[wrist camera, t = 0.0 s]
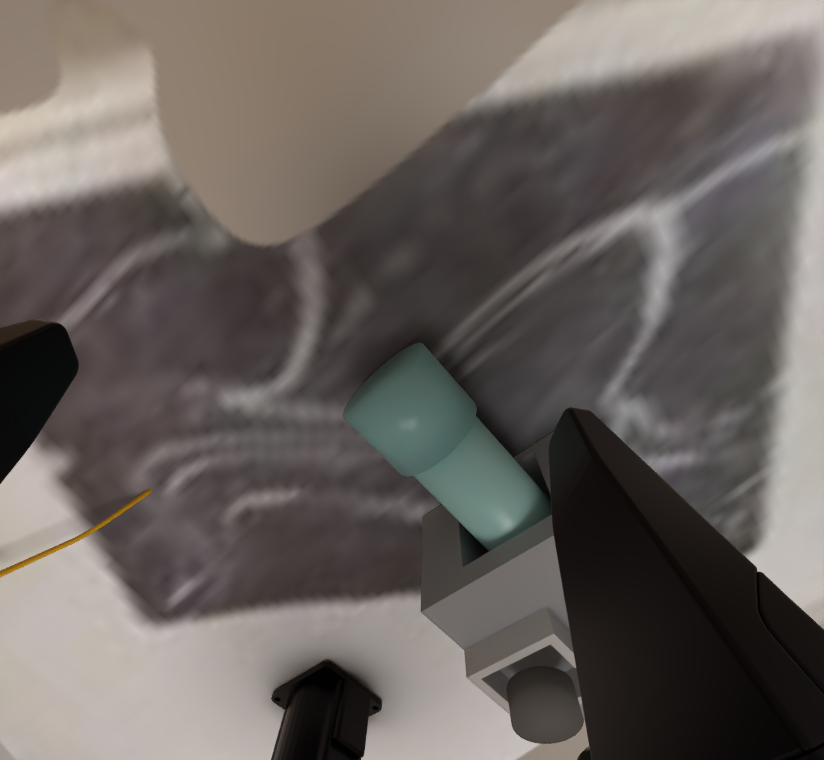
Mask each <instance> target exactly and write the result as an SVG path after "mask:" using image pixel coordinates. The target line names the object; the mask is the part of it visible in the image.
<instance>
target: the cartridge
mask: <svg viewBox="0 0 824 760" xmlns="http://www.w3.org/2000/svg"><path fill="white" fill-rule="evenodd" d="M476 412H477V407H476V404H475V402H474V401H473V400H472V399H471V398H470V397H469V395H468V394H467V393H466V392H465V391H464V390H463V389H462V388H461V386H460V385H459V384H458V383H457V382H456V381H455V380H454V378H453V377H452V376H451V375H450V374H449V373H448V372H447V370H446V369H445V368H444V367H443V366H442V365H441V364H440V362H439V361H438V360H437V359H436V358H435V357H434V356H433V355H432V353H431V352H430V351H429V350H428V349H427V348H426V347H425V345H424V344H423V343H415V344H413V345H410V346H408V347H407V348H405V349H403V350H401V351H400V352H398V353H397V354H396V355H394V356H393V357H392V358H390V359H389V360H388V361H386V362H385V363H384V364H383V365H382V366H381V367H379V368H378V369H377V370H376V371H375V372H374V373H373V374H372V375H371V376H370V377H369V378H368V379H367V380H366V381H365V382H364V383H363V384H362V385H361V386H360V388H359V389H358V390H357V391H356V392H355V394H354V395H353V396H352V398H351V399H350V400H349V402H348V403H347V405H346V407H345V409H344V412H343V418H344V419H345V420H346V421H347V422H348V423H349V424H350V425H351V426H352V427H353V428H354V429H355V430H356V431H357V432H358V433H359V434H360V435H361V436H362V437H363V438H364V439H365V440H366V441H367V442H368V443H369V444H370V445H371V446H372V447H373V448H374V449H375V450H376V451H377V452H378V453H379V454H380V455H382V456H383V457H384V458H385V459H386V460H387V461H388V462H389V463H390V464H391V465H392V466H393V467H394V468H395V469H396V470H397V471H398V472H399V473H400V474H401V475H403V476H414V477H415V478H416V479H417V480H418V481H419V482H420V483H421V484H422V485H423V486H424V487H425V488H426V489H427V490H428V491H429V492H430V493H431V494H432V495H433V496H434V497H435V498H436V499H437V500H438V501H439V502H440V503H441V504H442V505H443V506H444V507H445V508H446V509H447V510H448V511H449V512H450V513H451V514H452V515H453V516H454V517H455V518H456V519H457V520H458V521H459V522H460V523H461V524H462V525H463V526H464V527H465V528H466V529H467V530H468V531H469V532H470V533H471V534H472V535H473V536H474V537H475V538H476V539H477V540H478V541H479V542H480V543H481V544H482V545H483V546H484V547H485V548H486V549H487V550H488V551H491V550H493V549H494V548H496V547H498V546H499V545H501V544H503V543H505V542H506V541H508V540H510V539H511V538H513V537H515V536H516V535H518V534H520V533H521V532H523V531H525V530H526V529H528V528H530V527H531V526H533V525H535V524H537V523H538V522H540V521H542V520H543V519H545V518H547V517H548V516H550V515H552V513H551V500H550V499H549V498H548V496H547V495H546V494H545V493H544V492H543V491H542V490H541V489H540V487H539V486H538V485H537V484H536V483H535V482H534V481H533V480H532V478H531V477H530V476H529V475H528V474H527V473H526V472H525V471H524V469H523V468H522V467H521V466H520V465H519V464H518V463H517V462H516V460H515V459H514V458H513V457H512V456H511V455H510V454H509V453H508V451H507V450H506V449H505V448H504V447H503V446H502V445H501V444H500V442H499V441H498V440H497V439H496V438H495V437H494V436H493V435H492V433H491V432H490V431H489V430H488V429H487V428H486V427H485V426H484V424H483V423H482V422H481V421H480V420H479V419H478V418H477V417H476Z"/></svg>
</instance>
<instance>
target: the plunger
mask: <svg viewBox="0 0 824 760" xmlns="http://www.w3.org/2000/svg"><path fill="white" fill-rule="evenodd" d="M506 689H507V697H508V703H509V710H510V716H511V723H512V727H513V730H514V731H515V733H516V734H517V735H519V736H520V737H521V738H523V739H525V740H527V741H530V742H534V743H541V744H548V743H549V744H550V743H557V742H562V741H565V740H567V739H569V738H571V737H573V736H574V735H576V734H577V733H578V732H579V731H580V730H581V728H582V726H583V723H584V719H583V714H582V711H581V708H580V704H579V701H578V697H577V694H576V690H575V687H574V684H573V681H572V679H571V677H570V676H569V675H568V674H567V673H565V672H564V671H562V670H560V669H557V668H554V667H548V666H535V667H530V668H526V669H523V670H521V671H519V672H517V673H516V674H515V675H513V676H512V677H511V678H510V680H509V681H508V684H507V688H506Z"/></svg>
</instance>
